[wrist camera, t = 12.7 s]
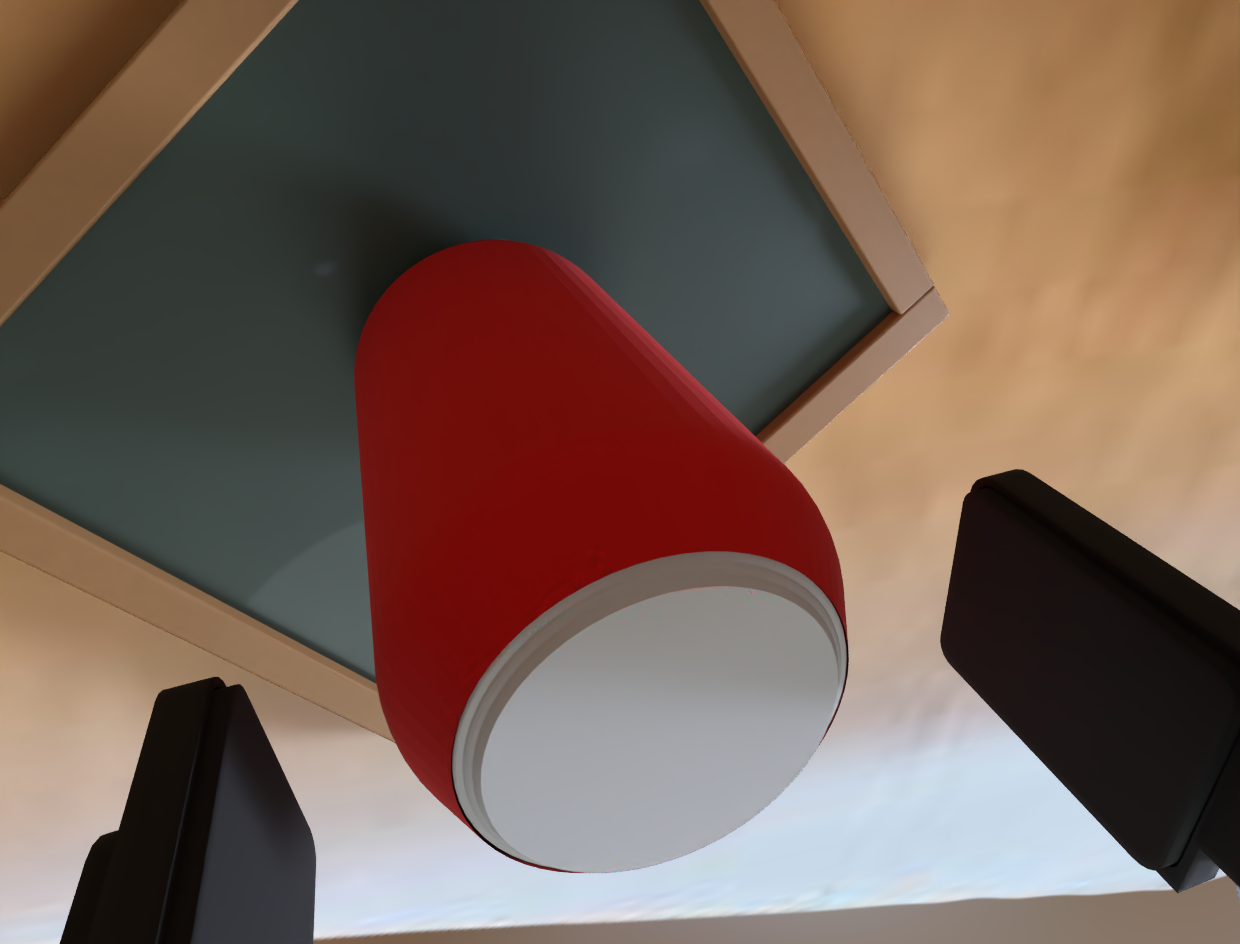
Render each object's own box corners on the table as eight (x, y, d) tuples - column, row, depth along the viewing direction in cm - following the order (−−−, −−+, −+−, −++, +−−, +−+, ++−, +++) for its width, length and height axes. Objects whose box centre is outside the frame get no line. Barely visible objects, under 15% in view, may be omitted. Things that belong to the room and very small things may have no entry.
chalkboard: (525, -369, 14) (546, -409, 12) (916, 298, 23) (951, 315, 22) (-172, 412, 16) (-217, 446, 15) (441, 731, 25) (447, 769, 24)
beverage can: (618, 226, 18) (970, 472, 8) (604, 464, 21) (851, 855, 11) (337, 227, 16) (351, 546, 6) (365, 487, 19) (406, 980, 9)
